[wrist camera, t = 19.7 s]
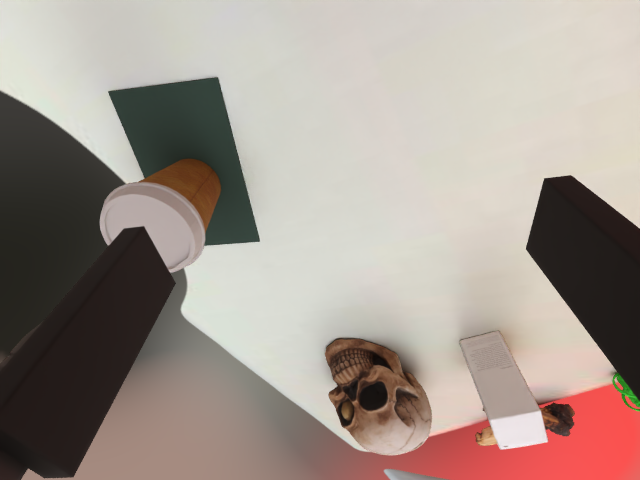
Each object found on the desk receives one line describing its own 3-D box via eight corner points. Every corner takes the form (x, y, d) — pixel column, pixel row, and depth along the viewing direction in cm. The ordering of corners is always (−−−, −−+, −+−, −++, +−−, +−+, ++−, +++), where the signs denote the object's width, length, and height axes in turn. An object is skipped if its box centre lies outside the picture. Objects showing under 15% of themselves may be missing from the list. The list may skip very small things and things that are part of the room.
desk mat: (109, 91, 36) (107, 91, 36) (217, 77, 35) (217, 77, 34) (174, 247, 47) (174, 247, 46) (259, 240, 45) (259, 241, 45)
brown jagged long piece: (556, 381, 59) (458, 414, 65) (571, 407, 55) (466, 439, 61) (572, 409, 62) (479, 438, 69) (588, 435, 58) (487, 463, 65)
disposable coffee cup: (173, 221, 44) (123, 281, 34) (141, 150, 39) (73, 195, 29) (243, 213, 43) (214, 273, 33) (220, 139, 38) (177, 182, 28)
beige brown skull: (326, 336, 55) (334, 421, 44) (430, 336, 56) (462, 418, 45) (319, 390, 64) (324, 471, 53) (409, 389, 65) (431, 468, 54)
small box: (508, 360, 56) (549, 443, 45) (469, 369, 58) (499, 451, 47) (499, 328, 52) (542, 411, 41) (458, 339, 54) (488, 421, 43)
